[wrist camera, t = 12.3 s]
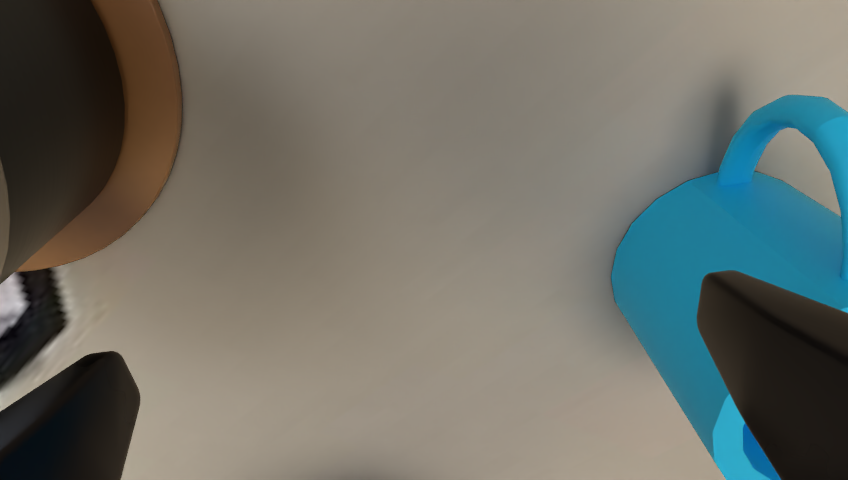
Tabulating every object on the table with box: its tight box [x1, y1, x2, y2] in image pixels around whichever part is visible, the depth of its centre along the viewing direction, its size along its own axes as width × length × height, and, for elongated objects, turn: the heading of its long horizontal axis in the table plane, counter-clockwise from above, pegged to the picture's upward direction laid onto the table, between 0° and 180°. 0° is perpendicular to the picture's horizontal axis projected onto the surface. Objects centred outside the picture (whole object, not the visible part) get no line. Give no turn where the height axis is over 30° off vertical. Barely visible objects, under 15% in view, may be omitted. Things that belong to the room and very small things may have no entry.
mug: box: [611, 95, 848, 480], centre depth 18 cm, size 12×8×8 cm
